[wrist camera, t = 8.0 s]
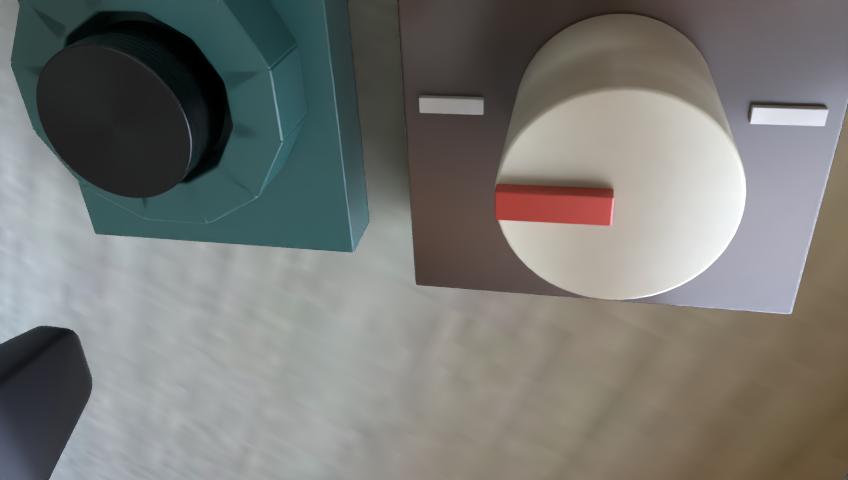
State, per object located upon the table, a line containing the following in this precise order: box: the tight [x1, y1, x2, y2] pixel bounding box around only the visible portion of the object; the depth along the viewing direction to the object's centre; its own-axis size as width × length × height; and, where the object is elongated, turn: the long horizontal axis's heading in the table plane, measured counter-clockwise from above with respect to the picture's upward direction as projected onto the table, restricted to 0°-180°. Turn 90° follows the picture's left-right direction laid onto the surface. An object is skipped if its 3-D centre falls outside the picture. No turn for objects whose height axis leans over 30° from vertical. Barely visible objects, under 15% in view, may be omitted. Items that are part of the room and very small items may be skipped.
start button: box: [36, 20, 225, 198], centre depth 17 cm, size 4×4×2 cm
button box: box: [11, 0, 369, 252], centre depth 19 cm, size 10×8×4 cm
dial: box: [494, 14, 746, 300], centre depth 14 cm, size 4×4×4 cm
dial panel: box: [397, 0, 848, 314], centre depth 17 cm, size 10×9×3 cm
